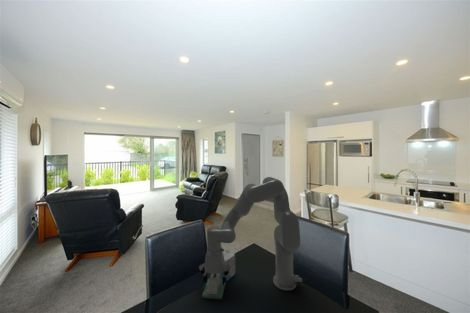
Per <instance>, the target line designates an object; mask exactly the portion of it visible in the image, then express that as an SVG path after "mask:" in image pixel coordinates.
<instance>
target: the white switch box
mask: <svg viewBox="0 0 470 313" xmlns="http://www.w3.org/2000/svg"><path fill="white" fill-rule="evenodd" d="M208 279H209V282H208V294H216V295H217V292H218V288H219V285H220V281H221V280H222V279H221V274H213V273H210V277H209V278H208Z"/></svg>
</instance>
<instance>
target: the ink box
mask: <svg viewBox="0 0 470 313" xmlns="http://www.w3.org/2000/svg"><path fill="white" fill-rule="evenodd" d="M222 252H223V251H222ZM223 255H224V264H226V265H228V266H229V267H231V269H230V271H229V274H228V275H227V276H226V282H228V281H229V280H230V279H231V278H232V277H233V276H235V274H236V254H234V253H232V252H230V250H229V249H226V250H225V249H224V252H223ZM224 270H225V271H227V269H226V268H224ZM222 278H223V276H222V274H221V280H222Z"/></svg>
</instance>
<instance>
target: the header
mask: <svg viewBox="0 0 470 313" xmlns="http://www.w3.org/2000/svg"><path fill="white" fill-rule="evenodd" d="M209 279H210V278H208V280H207V283H206V284H205V287H204V289H203V292H202V293H201V294H202V295H201V298H203V299H212V300H223V295H224V290H225V286H226V282H227V281H226V282H225V283H224V285H223V281H222V279H221V281H220V285H219V288H218V292H217V295H216V294H208V282H209Z"/></svg>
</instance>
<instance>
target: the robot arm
mask: <svg viewBox="0 0 470 313" xmlns="http://www.w3.org/2000/svg"><path fill="white" fill-rule="evenodd" d="M270 199H272V201H273V212H274V213H273V214H274V220H275V221H276V223H278V225H276V227H275V228H274V232H273V236H274V237H273V238H274V239H273V240H274V247H275V249H274V250H275V251H274V252H275V256H274V257H275V274H274V275H273V277H272V281H273V282H272V283H273V284H274V286H275V287H276V288H278V289H280V290H282V291H287V292H288V291H293V290H295V289H296V287H297V282H298V283H303V278H302V277H300V276H299V275H297V274H294V253H295V252H297V251H298V250H299V248H300V247H301V233H300V232H301V231H300V222H299V219H298V216H297V215H296V214H295V212H293V211H292V210H291V208H290V207H291V206H290V199H289V194H288V191H287V189H286V188H285V186H284V183H283V182H282V181H281V180H279V179H278V178H275V177H272V176H267V177H265V178H263V180H262V183H260V184H255V183H248V184H247V185H245V186H244V188H243V190H242V191H241V194H240V196H239V197H238V199H237V201H236V203H235V204H234V205H233V207H232V208H231V210H230V211H228V213H227V215H226V217H225V219H224V220H223V222H222V224H221V227H220V226H218V225H211V226H209V227H208V228H207V230H206V242H207V243H206V247H207V248H206V253H205V260H204V263H202V264H200V265H199V266H198V270H199V271H200V273H201V275H202V277H203V281H204V284H205V285H206V284H207V281H208V279H209V277H208V274H212V273H213V274H222V276H223V278H222V279H221V280H222V281H223V285H224V283H225V282H227V281H226V276H227V275H228V274H229V271H230V269H231V267H229V266H228V265H226V264H224V255H223V252H224V251H225V248H223V247H222V243H223V244H232V243H233V242H235V240H236V237H237V236H236V231H235V228H236V226H237V224H238V222H239V221H240V219H241V218H243V217H246V216H247V215H248V214H249V213H250V212H251V209H252V208H253V205H254V204H256V203H257V204H258V203H261V202H264V201H268V200H270ZM224 268H226V269H227V271H225V270H224ZM225 284H226V283H225Z"/></svg>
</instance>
